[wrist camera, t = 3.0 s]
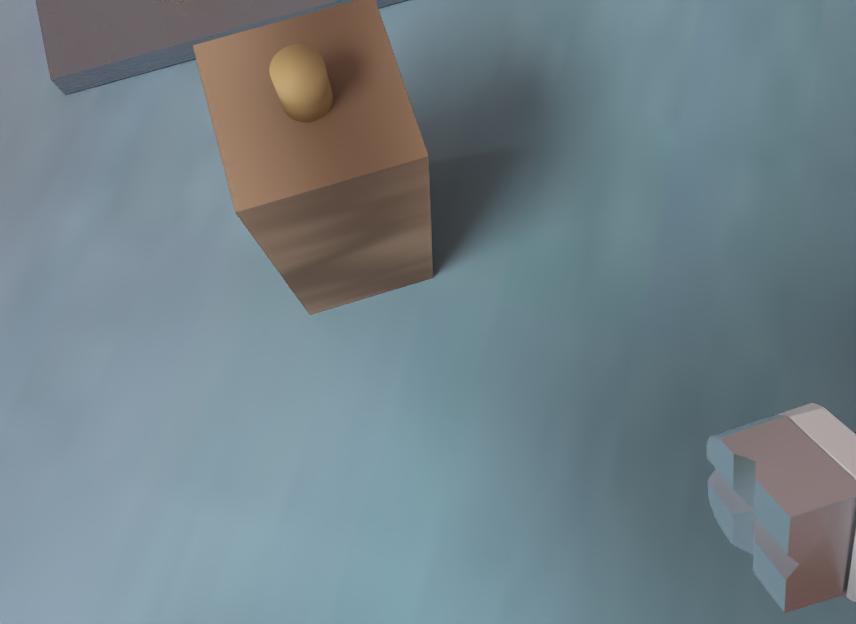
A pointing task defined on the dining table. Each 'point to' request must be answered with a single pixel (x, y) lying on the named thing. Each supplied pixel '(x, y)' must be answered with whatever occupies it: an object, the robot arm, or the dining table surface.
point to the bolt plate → (147, 33)
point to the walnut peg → (323, 152)
